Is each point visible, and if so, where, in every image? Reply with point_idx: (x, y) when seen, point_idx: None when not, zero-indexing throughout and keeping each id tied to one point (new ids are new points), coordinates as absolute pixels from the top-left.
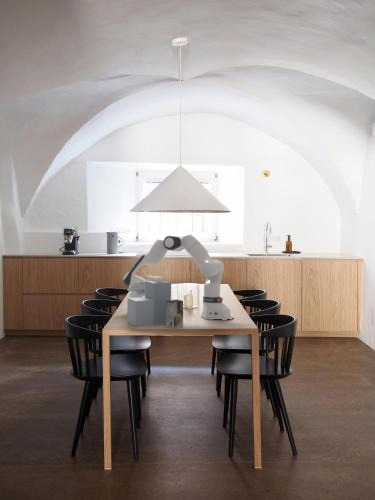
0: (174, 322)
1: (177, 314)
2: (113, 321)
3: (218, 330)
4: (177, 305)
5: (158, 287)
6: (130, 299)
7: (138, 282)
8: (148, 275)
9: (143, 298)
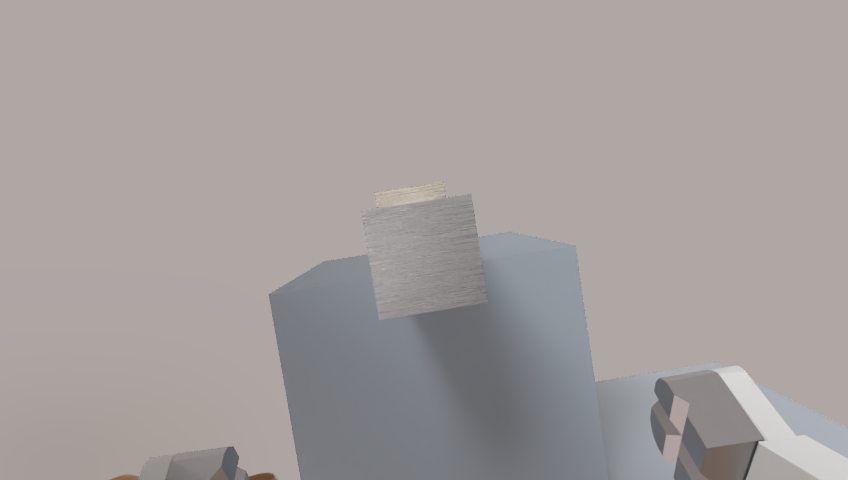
0: None
1: None
2: None
3: (259, 474)
4: None
5: None
6: (812, 415)
7: (796, 448)
8: (416, 202)
9: (638, 434)
